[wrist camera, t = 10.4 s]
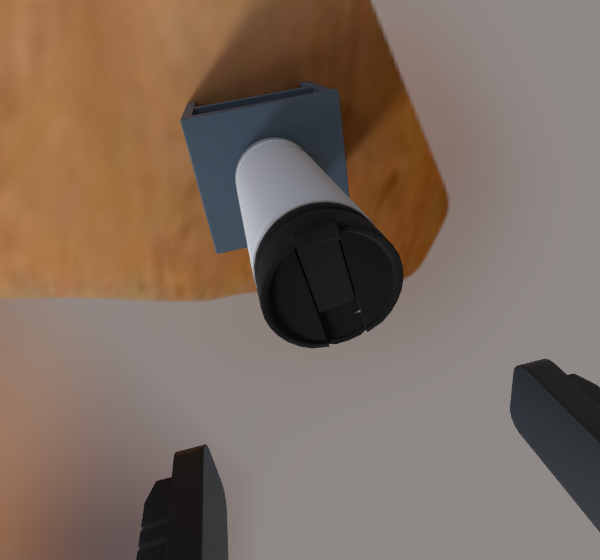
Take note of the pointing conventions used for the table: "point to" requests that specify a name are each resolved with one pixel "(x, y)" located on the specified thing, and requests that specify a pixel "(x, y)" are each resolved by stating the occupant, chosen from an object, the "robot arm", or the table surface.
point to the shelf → (248, 130)
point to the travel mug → (312, 249)
